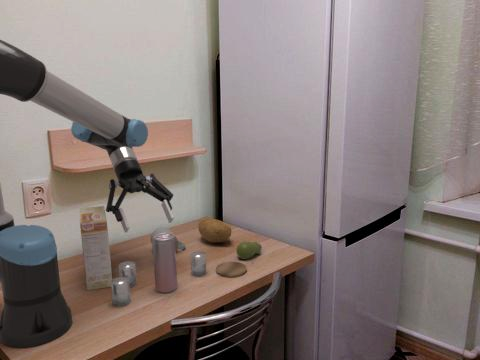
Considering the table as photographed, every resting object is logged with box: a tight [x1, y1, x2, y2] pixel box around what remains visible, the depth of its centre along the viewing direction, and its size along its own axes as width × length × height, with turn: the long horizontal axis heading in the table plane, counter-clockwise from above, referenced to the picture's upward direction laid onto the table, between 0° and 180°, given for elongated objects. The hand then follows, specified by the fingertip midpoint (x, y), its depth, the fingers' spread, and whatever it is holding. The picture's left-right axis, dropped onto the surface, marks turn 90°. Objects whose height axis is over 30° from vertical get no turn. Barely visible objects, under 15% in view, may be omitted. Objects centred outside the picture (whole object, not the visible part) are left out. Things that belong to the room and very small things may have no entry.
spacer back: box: [118, 260, 137, 289], centre depth 118 cm, size 4×4×6 cm
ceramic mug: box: [150, 226, 186, 251], centre depth 142 cm, size 11×8×8 cm
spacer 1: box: [110, 276, 132, 307], centre depth 108 cm, size 4×4×6 cm
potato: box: [197, 217, 233, 244], centre depth 150 cm, size 10×14×8 cm
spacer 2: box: [190, 250, 207, 278], centre depth 125 cm, size 4×4×6 cm
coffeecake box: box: [79, 205, 113, 291], centre depth 121 cm, size 15×7×20 cm, turn 20°
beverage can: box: [151, 233, 178, 294], centre depth 114 cm, size 6×6×15 cm
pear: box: [236, 241, 263, 260], centre depth 137 cm, size 6×5×10 cm
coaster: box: [215, 261, 247, 278], centre depth 126 cm, size 9×9×1 cm
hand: (150, 225), depth 121 cm, fingers open, 13 cm apart
